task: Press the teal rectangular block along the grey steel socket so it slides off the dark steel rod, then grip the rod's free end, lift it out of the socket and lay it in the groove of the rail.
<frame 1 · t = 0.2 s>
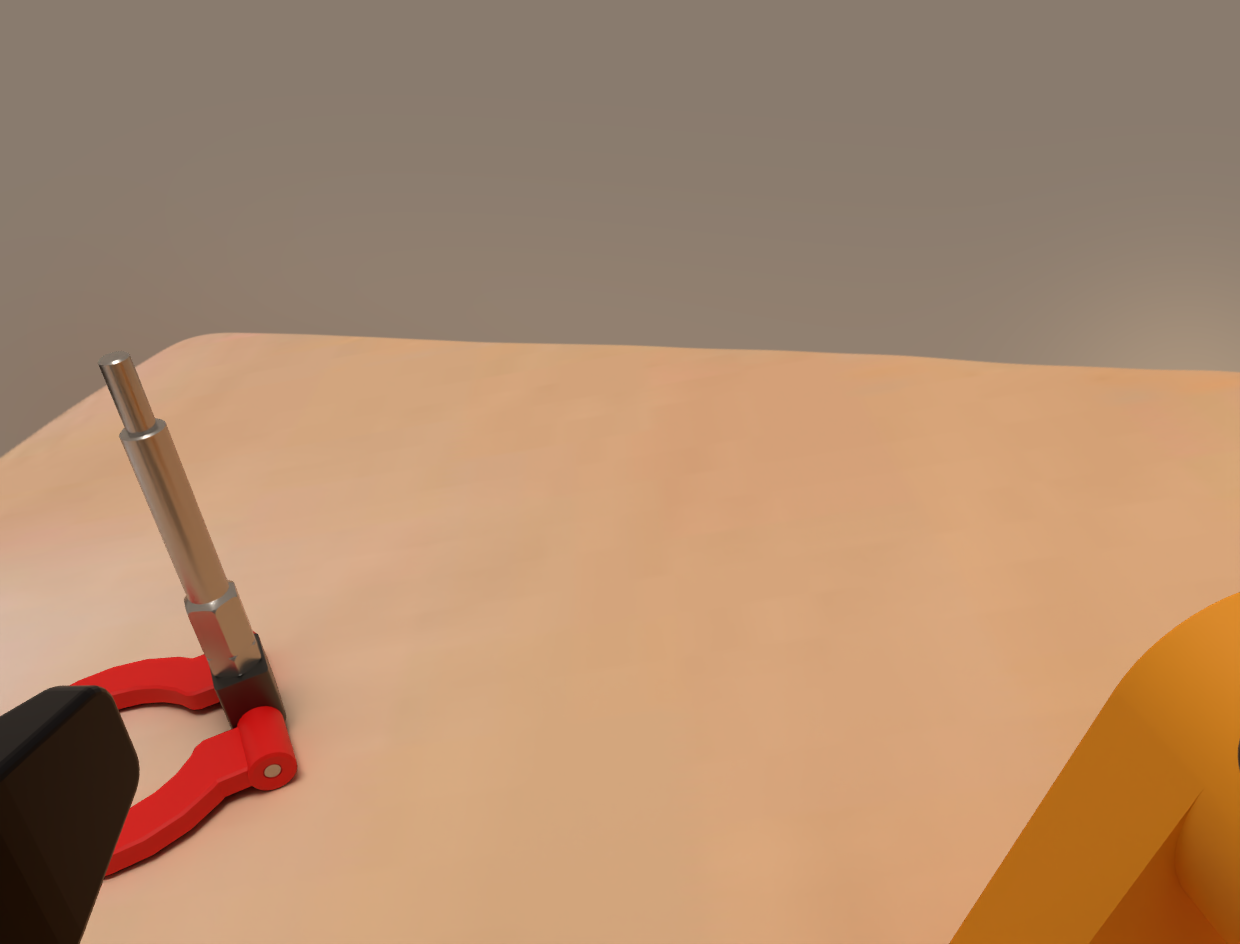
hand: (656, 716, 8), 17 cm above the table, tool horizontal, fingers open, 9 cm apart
tow hook: (135, 772, 31), on the table
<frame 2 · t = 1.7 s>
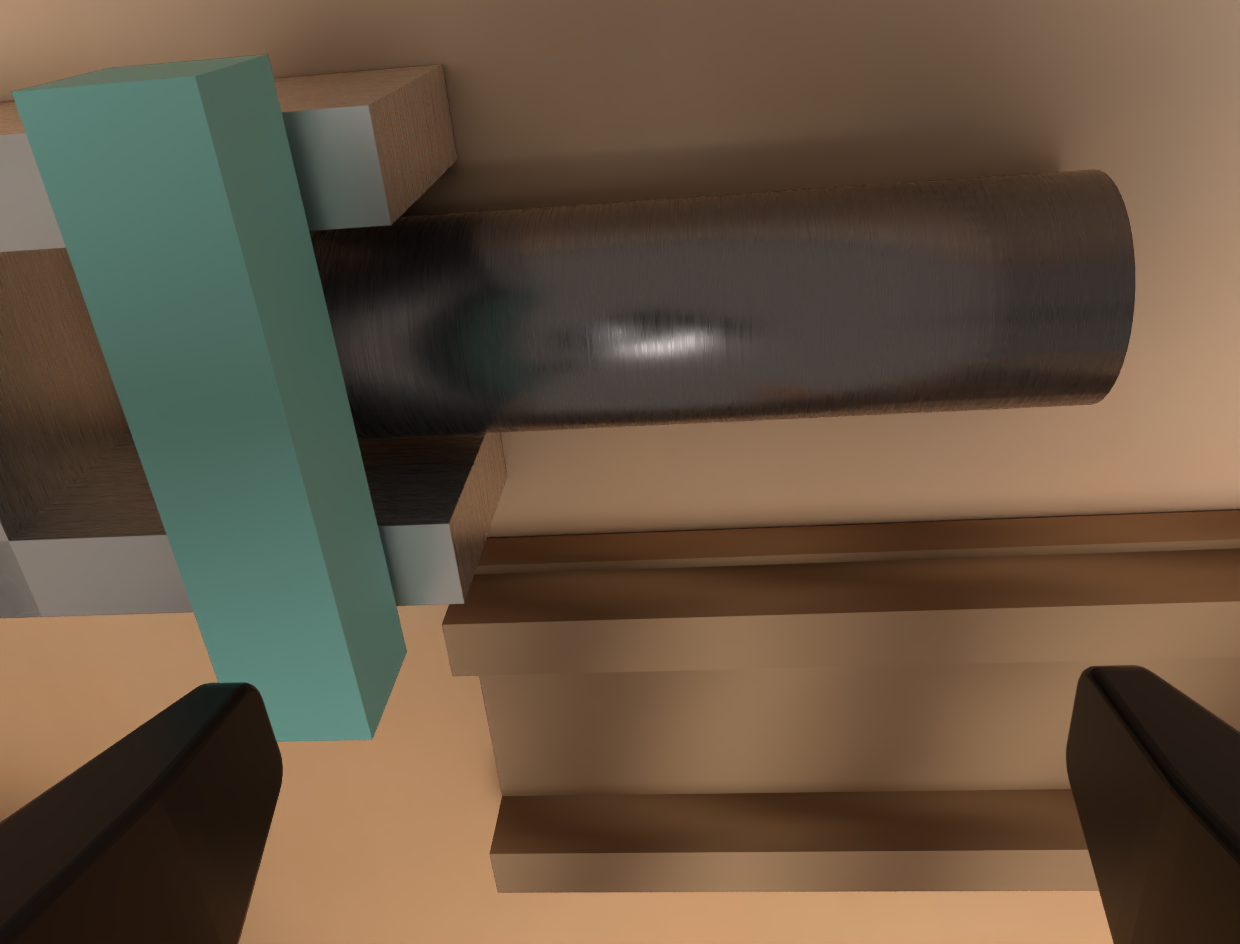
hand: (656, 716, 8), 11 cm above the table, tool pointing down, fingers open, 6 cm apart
rod: (645, 277, 18), on the table
rail: (860, 675, 22), on the table
teal rectangular block: (252, 432, 13), point 6 cm above the table, slide at 0.0 cm
socket: (263, 304, 18), on the table
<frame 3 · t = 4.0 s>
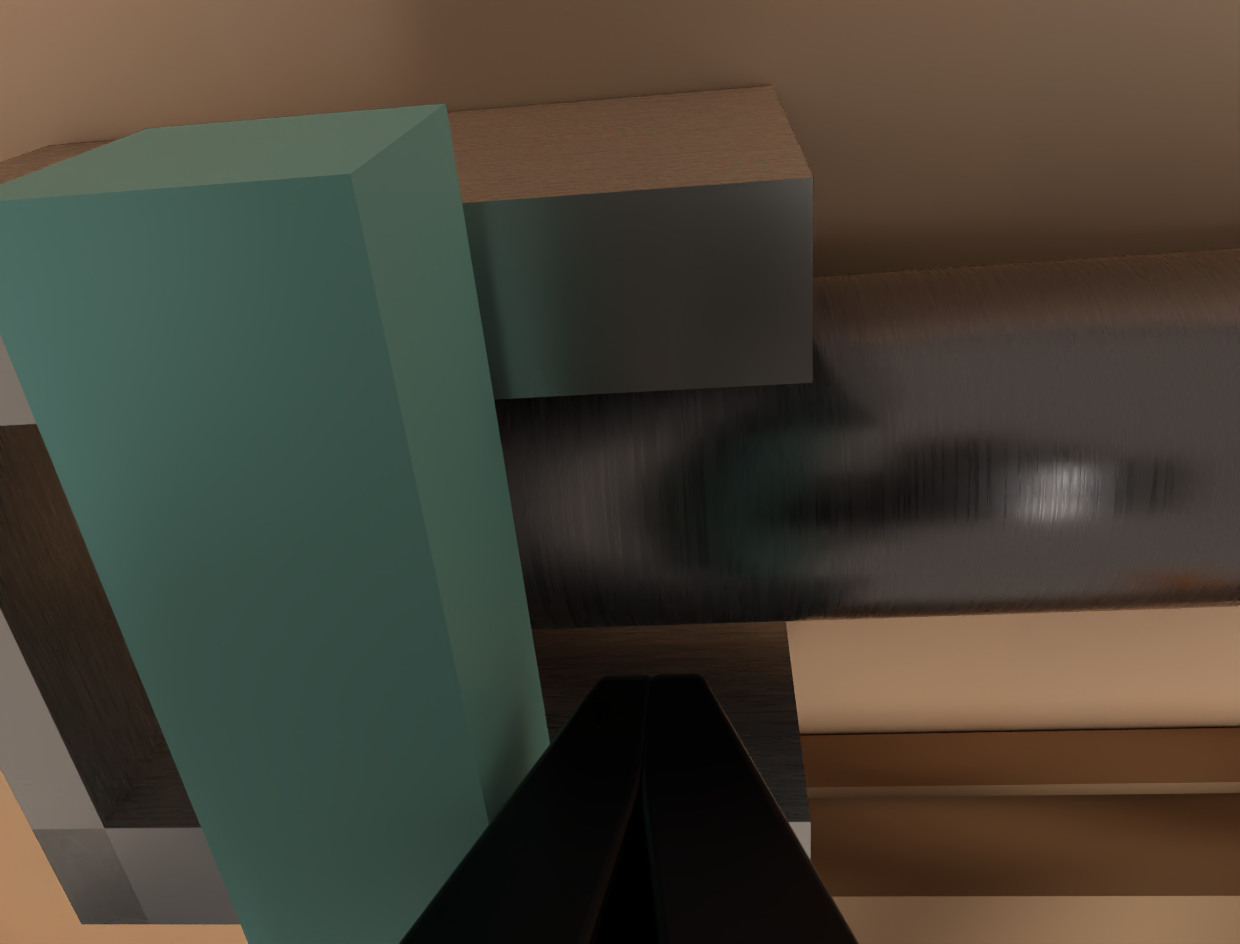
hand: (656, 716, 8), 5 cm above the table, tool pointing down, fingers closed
rod: (1026, 402, 12), on the table, tilted 14°
rail: (1233, 908, 16), on the table
teal rectangular block: (390, 747, 8), point 6 cm above the table, slide at 1.3 cm, touching gripper
socket: (455, 432, 13), on the table
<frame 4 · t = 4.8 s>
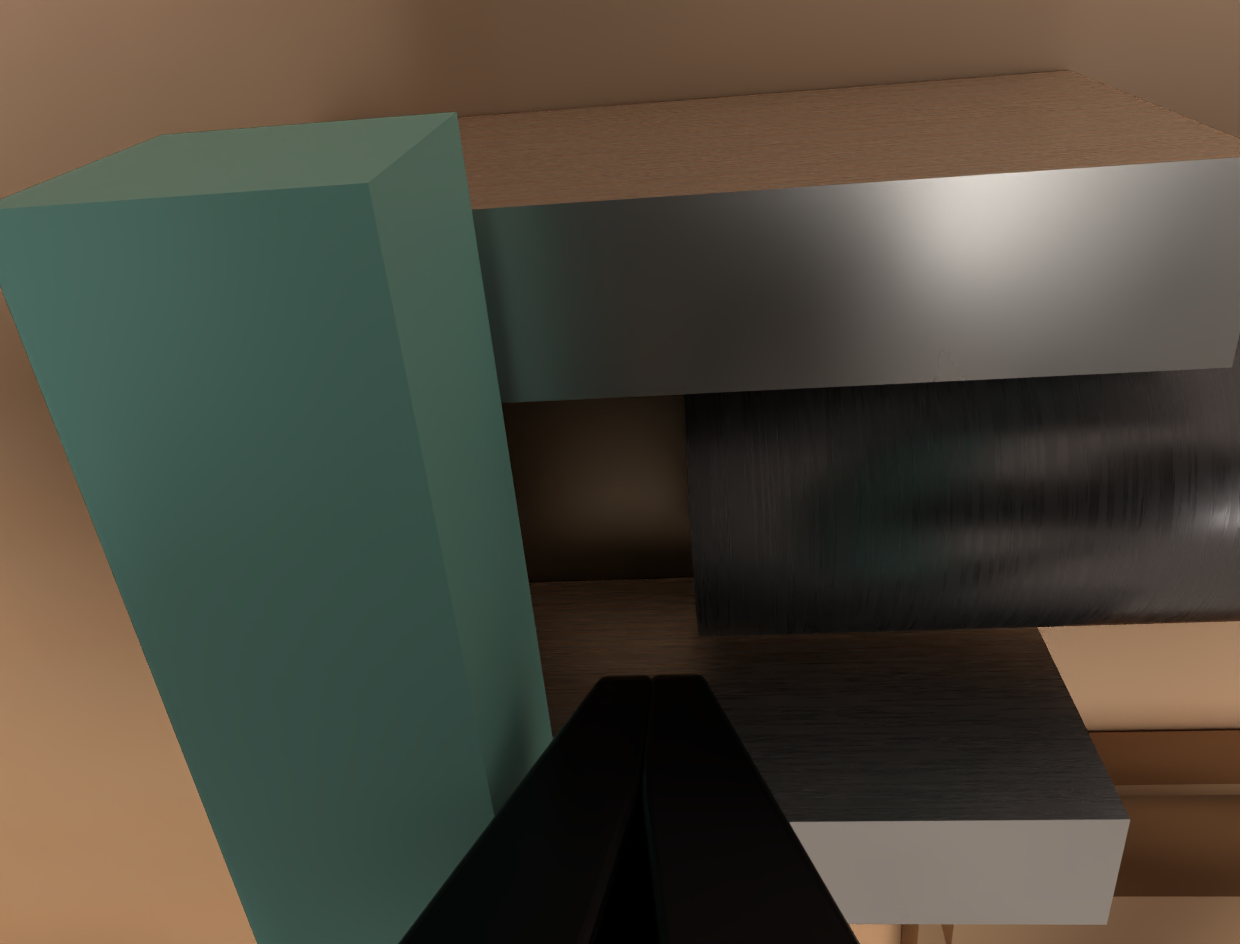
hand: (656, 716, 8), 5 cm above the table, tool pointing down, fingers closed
teal rectangular block: (396, 746, 8), point 5 cm above the table, slide at 4.3 cm, touching gripper
socket: (693, 423, 12), on the table
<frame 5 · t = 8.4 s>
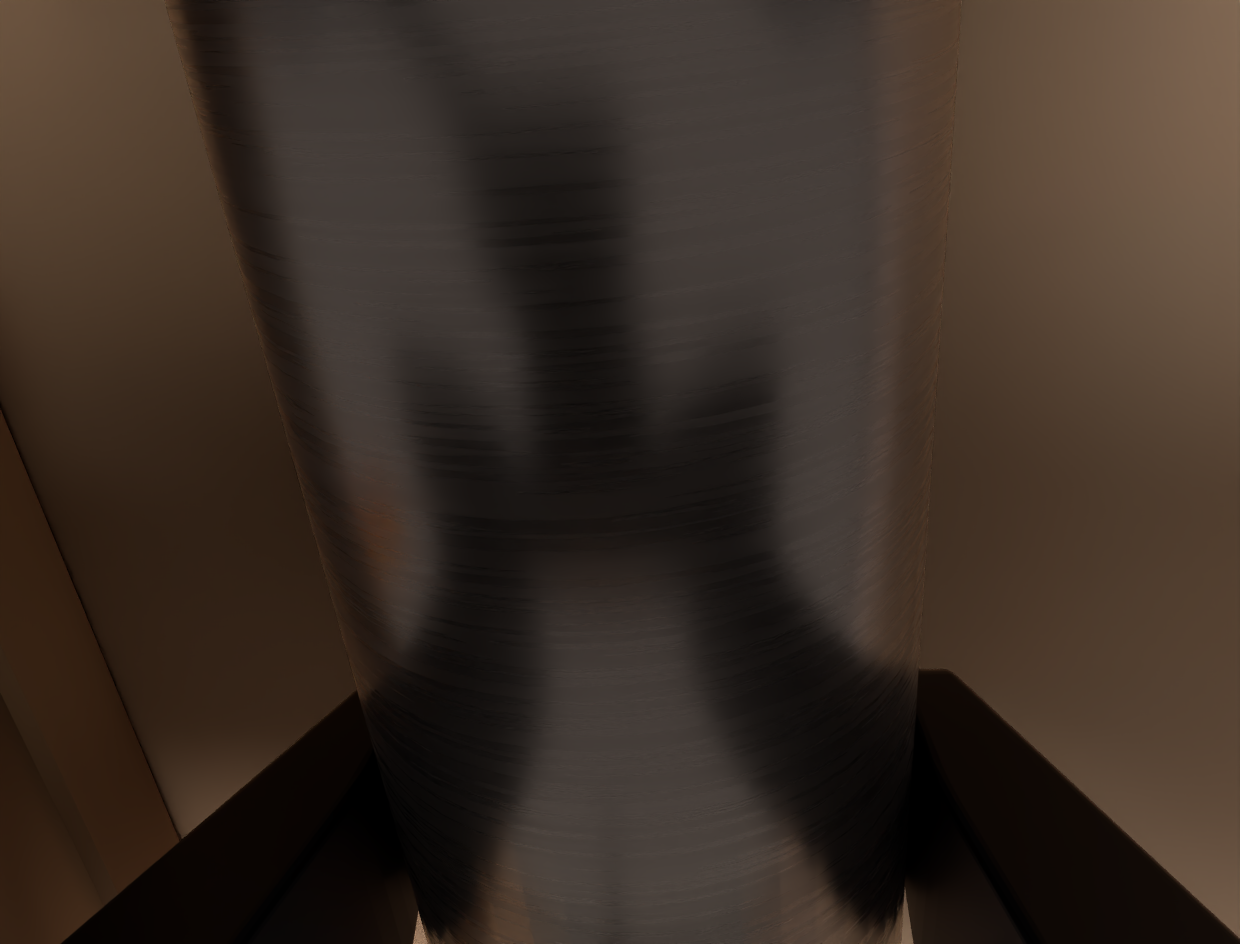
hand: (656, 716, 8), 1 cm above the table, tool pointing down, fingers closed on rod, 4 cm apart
rod: (610, 302, 7), on the table, touching gripper
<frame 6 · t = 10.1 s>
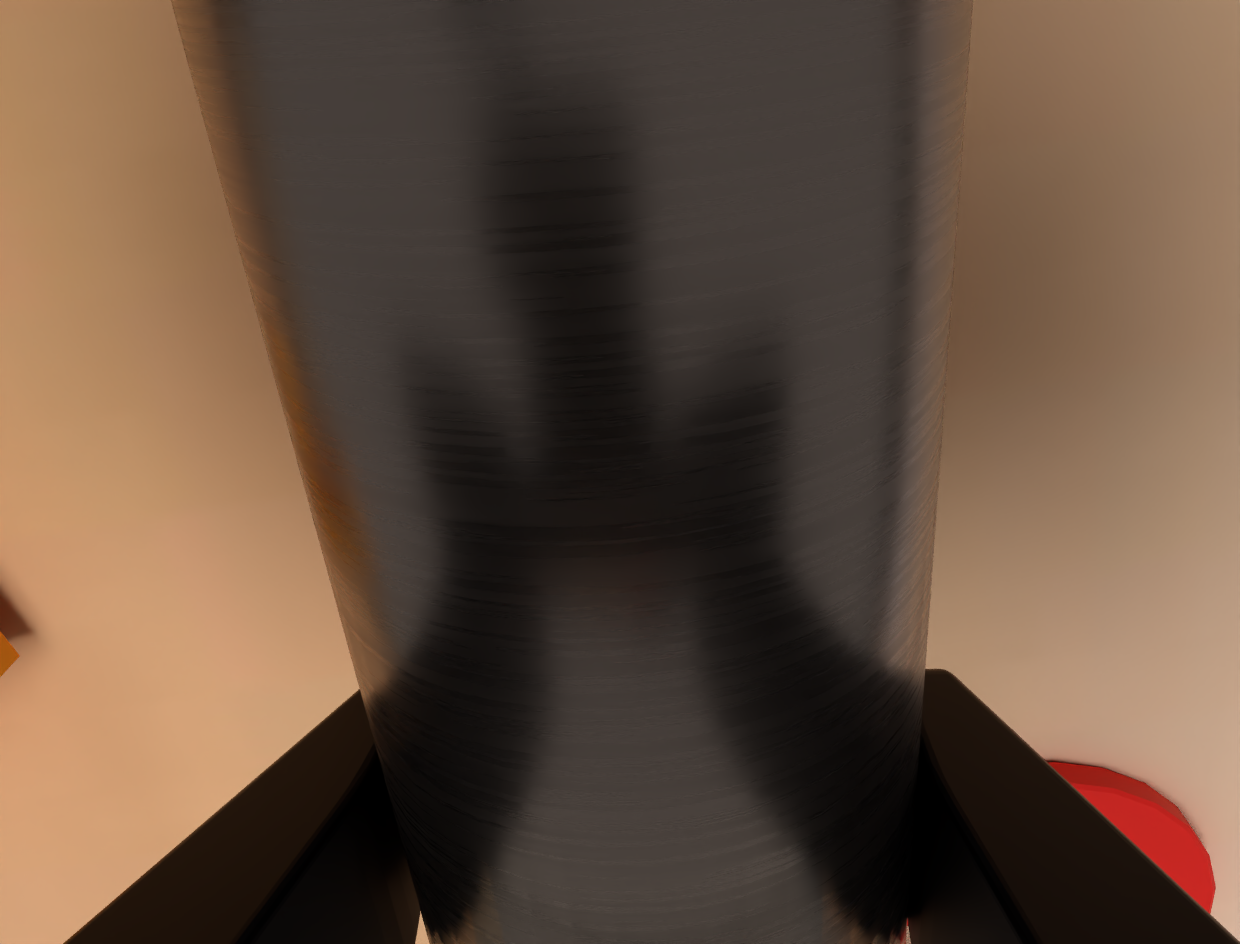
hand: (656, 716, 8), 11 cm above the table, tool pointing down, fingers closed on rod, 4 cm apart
rod: (615, 305, 7), point 10 cm above the table, touching gripper
tow hook: (996, 883, 25), on the table
when the fingers open (3 cm above the table, at t = 11.9 s): rod drops 1 cm, resting on rail.
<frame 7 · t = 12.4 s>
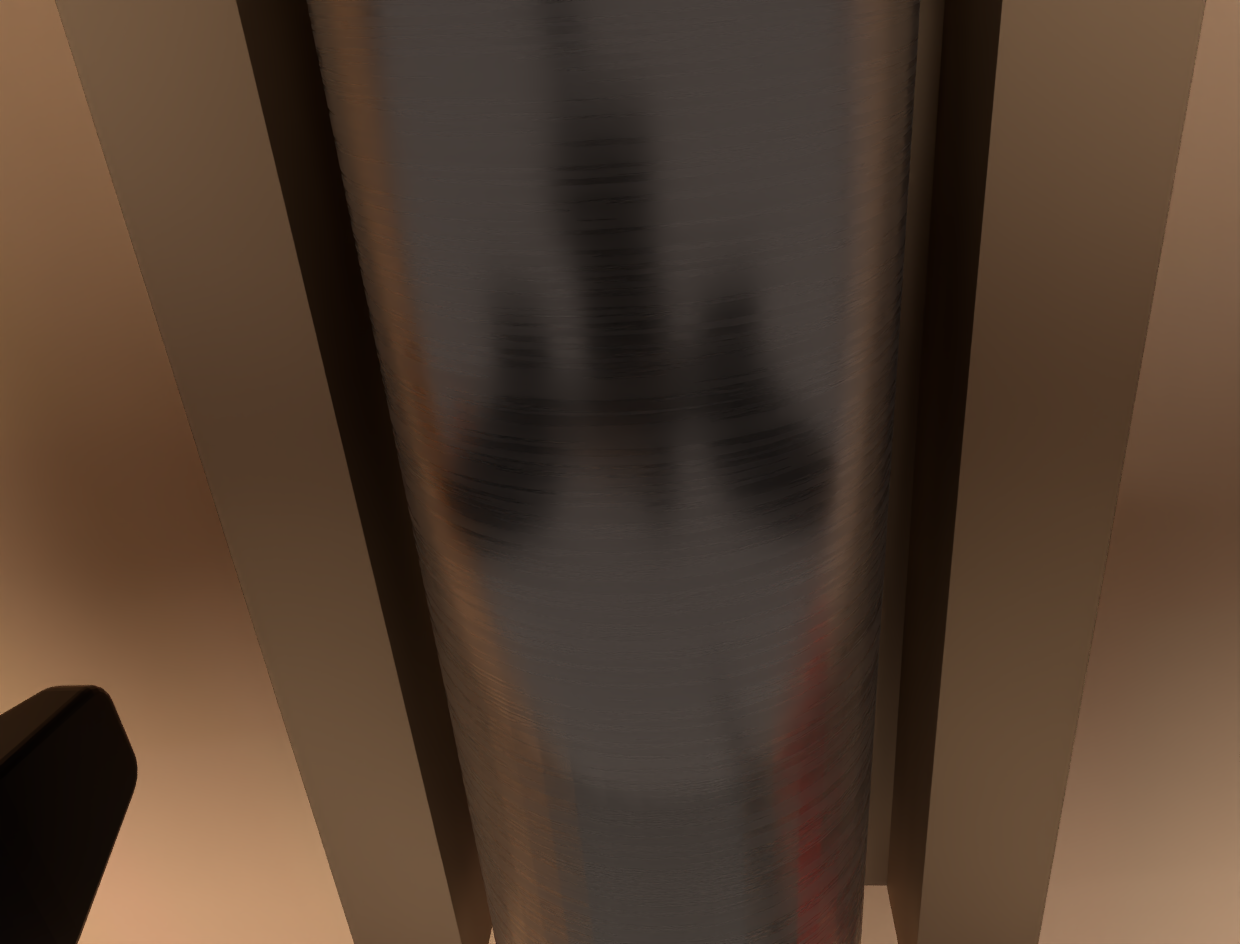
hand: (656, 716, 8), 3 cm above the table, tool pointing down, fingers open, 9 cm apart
rod: (627, 261, 9), point 1 cm above the table, tilted 6°, touching rail
rail: (650, 225, 10), on the table
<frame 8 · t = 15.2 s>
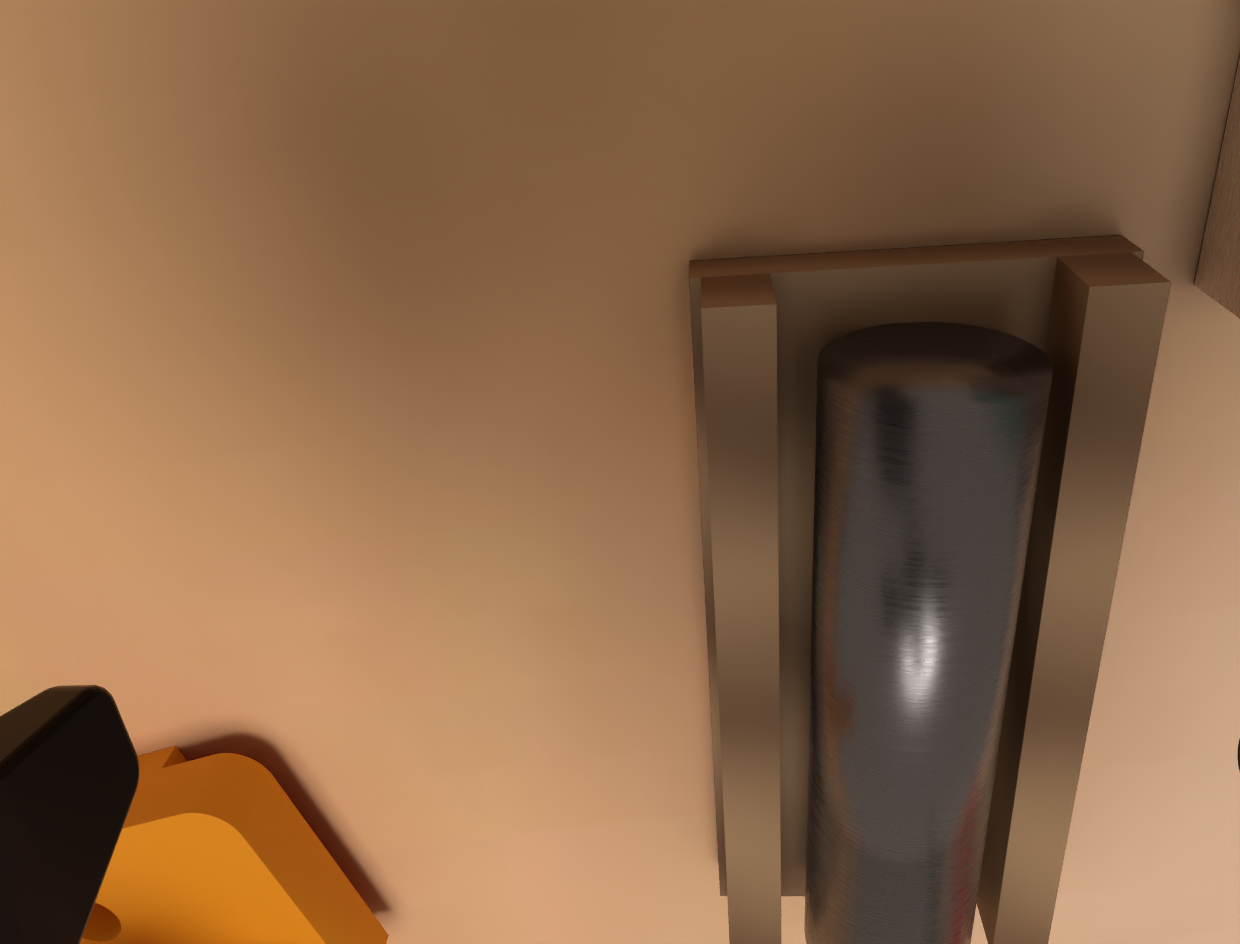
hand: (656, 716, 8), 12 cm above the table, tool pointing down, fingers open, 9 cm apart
rod: (881, 639, 21), point 1 cm above the table, touching rail
rail: (882, 609, 22), on the table
bracket: (167, 854, 28), on the table
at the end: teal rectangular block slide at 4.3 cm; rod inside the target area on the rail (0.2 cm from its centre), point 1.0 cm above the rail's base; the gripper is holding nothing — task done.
